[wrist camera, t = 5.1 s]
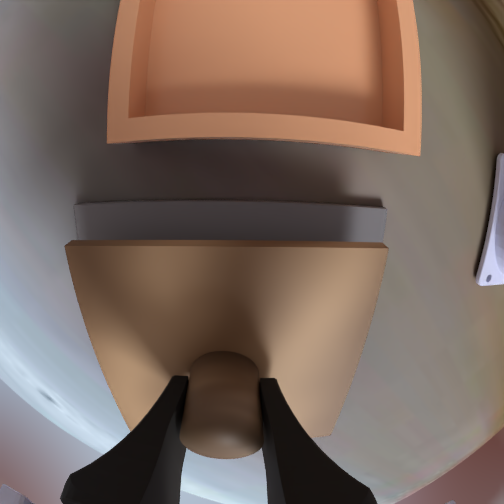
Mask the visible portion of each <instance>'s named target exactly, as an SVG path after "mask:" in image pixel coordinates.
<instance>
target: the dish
mask: <svg viewBox="0 0 504 504" xmlns="http://www.w3.org/2000/svg"><path fill="white" fill-rule="evenodd" d="M421 125H422V90H421V67H420V53H419V43H418V34H417V26H416V18H415V12H414V6H413V0H121V1H120V6H119V11H118V16H117V22H116V28H115V34H114V41H113V49H112V58H111V67H110V78H109V92H108V111H107V144H112V143H142V142H156V141H175V140H214V139H230V140H268V141H287V142H302V143H314V144H325V145H335V146H344V147H352V148H360V149H367V150H374V151H380V152H387V153H396V154H405V155H413V156H420V148H421Z"/></svg>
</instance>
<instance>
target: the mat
mask: <svg viewBox="0 0 504 504" xmlns="http://www.w3.org/2000/svg"><path fill="white" fill-rule="evenodd" d="M74 211H75V220H76V228H77V236H78V240H268V241H336V242H382V243H383V237H384V230H385V223H386V216H387V209H386V208H384V207H375V206H361V205H347V204H330V203H311V202H289V201H257V200H147V201H116V202H94V203H78V204H76V205H74Z"/></svg>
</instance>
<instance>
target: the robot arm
mask: <svg viewBox="0 0 504 504" xmlns="http://www.w3.org/2000/svg"><path fill="white" fill-rule="evenodd" d="M476 283H477V284H479V285H480V286H486V285H498V284H504V153H500V154H498V156H497V164H496V176H495V185H494V193H493V201H492V207H491V213H490V219H489V225H488V230H487V235H486V239H485V244H484V248H483V252H482V256H481V260H480V264H479V268H478V272H477V275H476ZM188 381H189V380H188V376H179V375H174V376H172V377H171V379H170V381H169V383H168V384H167V386H166V387H165V389H164V391H163V392H162V394H161V395H160V397H159V398H158V399H157V401H156V402H155V404H154V405H153V406H152V408H151V409H150V410H149V412H148V413H147V414H146V415H145V416H144V418H143V419H142V420H141V421H140V422H139V423H138V425H137V426H136V427H135V428H134V429H133V430H132V431H131V432H130V433H129V434H128V435H127V436H126V437H125V438H124V439H123V440H122V441H120V442H119V443H118V444H117V445H116V446H115V447H113V448H112V449H111V450H110V451H108V452H107V453H105V454H104V455H103V456H101V457H100V458H98V459H97V460H95V461H94V462H92V463H91V464H89V465H87V466H85V467H84V468H82V469H80V470H78V471H76V472H74V473H72V474H70V476H69V478H68V479H67V481H66V483H65V486H64V489H63V492H62V495H61V498H60V499H61V501H62V503H63V504H179V502H180V486H181V473H182V467H183V462H184V457H185V452H186V447H185V446H184V445H183V444H182V442H181V441H180V429H181V423H182V417H183V411H184V404H185V398H186V393H187V387H188ZM260 394H261V405H262V419H263V433H264V444H263V446H262V451H263V457H264V463H265V469H266V478H267V496H268V504H377V502H376V499H375V497H374V495H373V493H372V492H371V490H370V488H368V487H367V486H365V485H364V484H362V483H361V482H359V481H358V480H356V479H355V478H353V477H352V476H350V475H349V474H348V473H347V472H345V471H344V470H343V469H341V468H340V467H339V466H338V465H337V464H336V463H335V462H334V461H332V460H331V459H330V458H329V457H328V456H327V455H326V454H325V453H324V452H323V451H322V450H321V449H320V448H319V447H318V446H317V444H316V443H315V442H314V441H313V440H312V439H311V437H310V436H309V435H308V434H307V432H306V431H305V430H304V428H303V427H302V425H301V424H300V423H299V421H298V420H297V418H296V417H295V415H294V413H293V412H292V410H291V408H290V407H289V405H288V403H287V401H286V399H285V397H284V395H283V393H282V391H281V389H280V387H279V384H278V382H277V379H275V378H260ZM0 504H34V503H32V501H30V500H29V499H28V498H26V497H25V496H23V495H22V494H21V493H19V492H17V491H15V490H14V489H12V488H10V487H9V486H7V485H5V484H2V487H1V489H0ZM446 504H456V503H455V501H454V500H451V501H449V502H448V503H446Z"/></svg>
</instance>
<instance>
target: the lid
mask: <svg viewBox="0 0 504 504" xmlns="http://www.w3.org/2000/svg"><path fill="white" fill-rule="evenodd" d="M388 249H389V248H388V247H387V246H385V245H384V244H383V243H382V242H336V241H268V240H72V241H70V242H69V243H68V244H66V245H65V251H66V255H67V260H68V264H69V269H70V273H71V277H72V281H73V285H74V289H75V292H76V296H77V300H78V303H79V306H80V310H81V313H82V316H83V319H84V323H85V326H86V329H87V332H88V335H89V337H90V340H91V343H92V346H93V349H94V351H95V354H96V357H97V359H98V362H99V364H100V367H101V369H102V372H103V374H104V377H105V379H106V381H107V384H108V386H109V388H110V390H111V393H112V395H113V397H114V399H115V401H116V404H117V406H118V408H119V410H120V412H121V414H122V416H123V418H124V420H125V422H126V424H127V426H128V428H129V429H130V431H132V430H133V429H134V428H135V427H136V426H137V425H138V423H139V422H140V421H141V420H142V419H143V418H144V416H145V415H146V414H147V413H148V412H149V410H150V409H151V408H152V406H153V405H154V404H155V402H156V401H157V399H158V398H159V397H160V395H161V394H162V392H163V391H164V389H165V387H166V386H167V384H168V383H169V381H170V379H171V377H172V376H174V375H179V376H188V380H189V381H188V387H187V393H186V398H185V404H184V411H183V417H182V423H181V429H180V441H181V442H182V444H183V445H184V446H185V447H186V448H188V449H189V450H191V451H192V452H194V453H197V454H199V455H202V456H206V457H210V458H217V459H235V458H241V457H246V456H249V455H251V454H254V453H255V452H257V451H258V450H260V449H261V448H262V446H263V444H264V433H263V419H262V405H261V394H260V378H275V379H277V382H278V384H279V387H280V389H281V391H282V393H283V395H284V397H285V399H286V401H287V403H288V405H289V407H290V408H291V410H292V412H293V413H294V415H295V417H296V418H297V420H298V421H299V423H300V424H301V425H302V427H303V428H304V430H305V431H306V432H307V434H308V435H309V436H310V437H311V438H313V437H321V436H329V435H331V433H332V431H333V428H334V426H335V424H336V421H337V419H338V417H339V414H340V412H341V409H342V407H343V404H344V402H345V399H346V396H347V394H348V391H349V388H350V386H351V383H352V380H353V377H354V375H355V372H356V369H357V366H358V363H359V360H360V357H361V354H362V351H363V348H364V344H365V341H366V338H367V335H368V331H369V328H370V324H371V321H372V317H373V314H374V310H375V306H376V302H377V298H378V294H379V290H380V286H381V282H382V278H383V273H384V269H385V264H386V259H387V254H388Z"/></svg>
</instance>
